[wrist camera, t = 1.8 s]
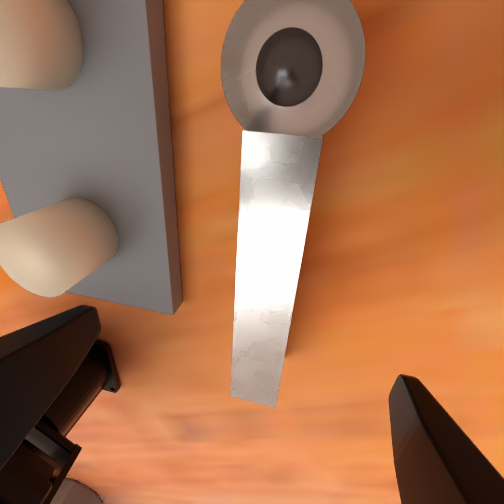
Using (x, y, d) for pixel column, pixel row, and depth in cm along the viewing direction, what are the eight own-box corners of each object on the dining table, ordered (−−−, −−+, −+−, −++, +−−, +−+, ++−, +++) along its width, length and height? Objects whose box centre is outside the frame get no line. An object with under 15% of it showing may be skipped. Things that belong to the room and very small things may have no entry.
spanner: (295, 360, 21) (289, 414, 17) (233, 347, 22) (216, 395, 18) (366, 14, 11) (386, -30, 8) (250, 11, 12) (219, -30, 8)
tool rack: (182, 301, 21) (141, 360, 16) (55, 276, 23) (-16, 321, 18) (154, -129, 11) (20, -316, 6) (-70, -114, 12) (-312, -250, 8)
